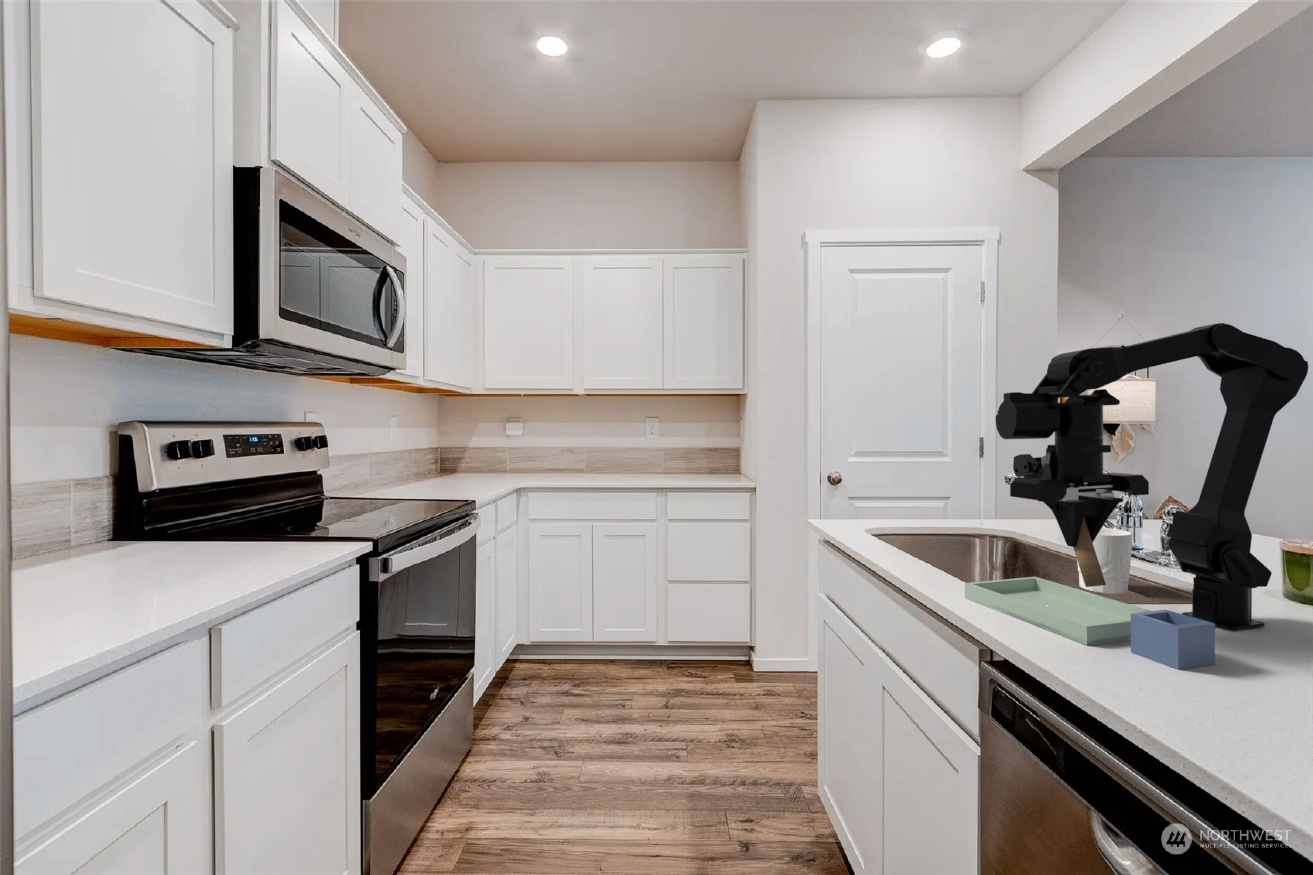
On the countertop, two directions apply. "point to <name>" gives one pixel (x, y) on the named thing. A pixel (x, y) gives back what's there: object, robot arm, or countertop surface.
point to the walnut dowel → (1088, 559)
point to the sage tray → (1057, 608)
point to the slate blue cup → (1173, 639)
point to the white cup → (1112, 560)
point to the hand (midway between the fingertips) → (1079, 545)
